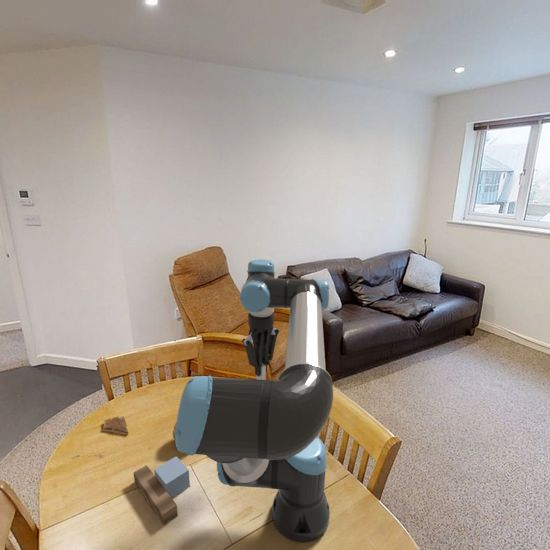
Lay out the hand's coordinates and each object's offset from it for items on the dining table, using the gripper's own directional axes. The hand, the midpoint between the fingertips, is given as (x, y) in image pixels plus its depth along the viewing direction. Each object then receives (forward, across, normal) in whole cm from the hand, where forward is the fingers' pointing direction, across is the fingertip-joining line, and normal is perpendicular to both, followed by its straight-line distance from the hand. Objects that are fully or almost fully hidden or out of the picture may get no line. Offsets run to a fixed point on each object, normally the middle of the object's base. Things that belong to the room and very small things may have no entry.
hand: (261, 382), depth 110 cm
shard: (+25, +30, -42) cm, 57 cm away
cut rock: (+25, +16, -19) cm, 35 cm away
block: (+25, +28, -6) cm, 38 cm away
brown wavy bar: (+24, +34, -6) cm, 42 cm away
